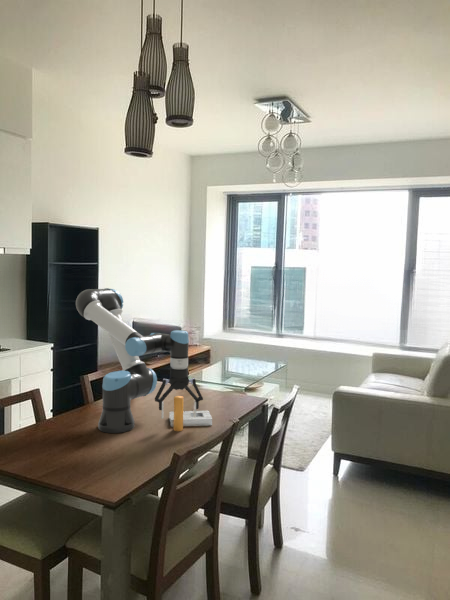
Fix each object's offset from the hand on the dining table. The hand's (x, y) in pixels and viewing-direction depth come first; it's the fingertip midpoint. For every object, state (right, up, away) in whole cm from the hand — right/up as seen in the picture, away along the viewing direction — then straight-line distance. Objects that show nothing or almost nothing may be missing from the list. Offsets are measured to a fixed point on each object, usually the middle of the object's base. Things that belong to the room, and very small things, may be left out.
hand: (178, 417), depth 202 cm
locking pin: (0, -5, 0) cm, 6 cm away
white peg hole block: (+4, -5, +11) cm, 13 cm away
